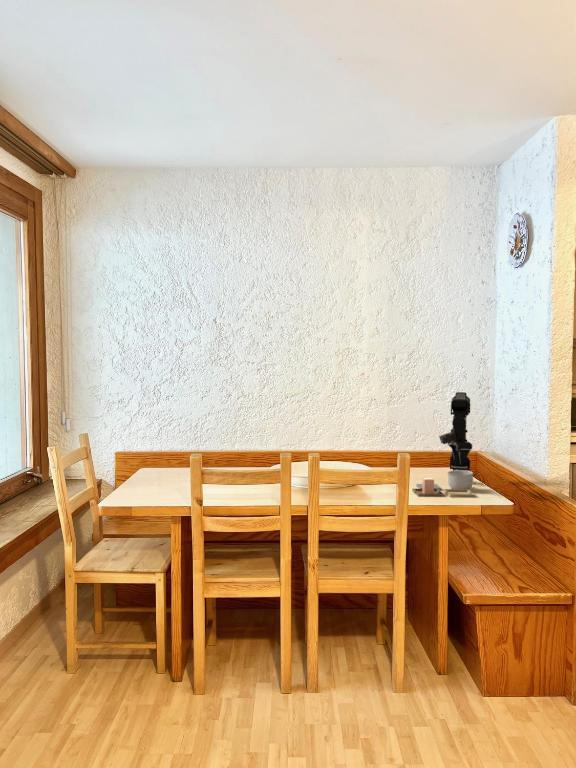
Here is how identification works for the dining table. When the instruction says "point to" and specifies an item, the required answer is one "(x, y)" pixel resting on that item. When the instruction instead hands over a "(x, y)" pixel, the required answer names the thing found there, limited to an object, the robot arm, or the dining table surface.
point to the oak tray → (459, 493)
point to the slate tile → (434, 486)
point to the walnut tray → (436, 494)
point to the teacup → (460, 479)
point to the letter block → (428, 486)
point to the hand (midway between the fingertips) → (458, 462)
